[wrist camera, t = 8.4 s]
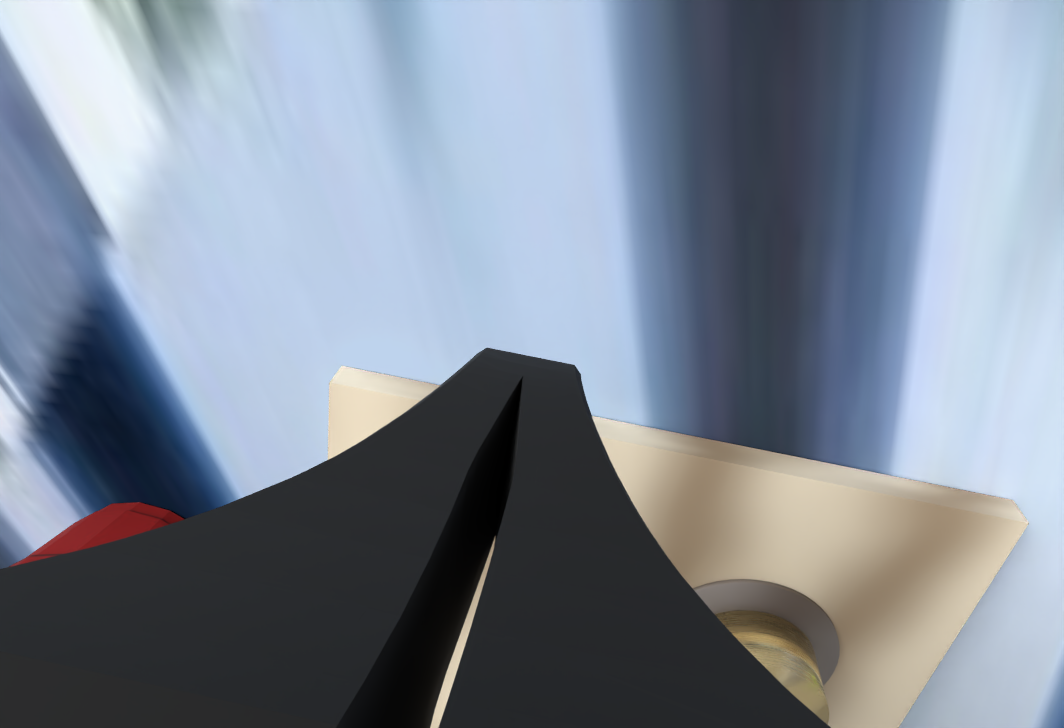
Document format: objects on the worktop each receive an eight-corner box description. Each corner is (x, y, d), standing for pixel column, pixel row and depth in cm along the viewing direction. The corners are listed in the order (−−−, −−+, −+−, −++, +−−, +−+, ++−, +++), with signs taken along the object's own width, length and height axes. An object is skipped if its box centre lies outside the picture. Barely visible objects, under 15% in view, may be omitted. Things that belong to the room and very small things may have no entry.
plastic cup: (-32, 423, 25) (-512, 750, 15) (272, 456, 24) (-11, 834, 14) (55, 643, 30) (-253, 1001, 20) (308, 678, 29) (123, 1075, 19)
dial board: (1013, 500, 21) (1032, 527, 20) (782, 876, 32) (787, 908, 30) (341, 365, 22) (326, 385, 21) (329, 776, 32) (319, 803, 31)
